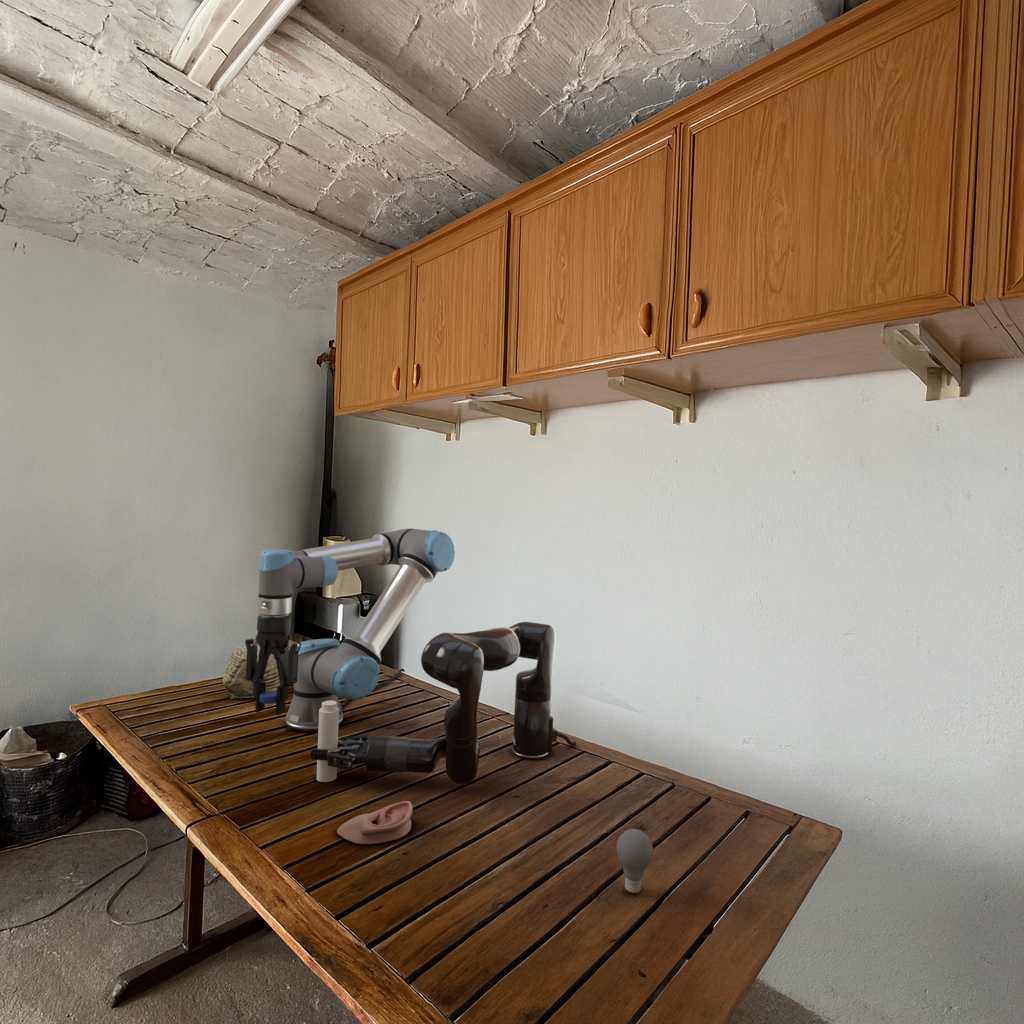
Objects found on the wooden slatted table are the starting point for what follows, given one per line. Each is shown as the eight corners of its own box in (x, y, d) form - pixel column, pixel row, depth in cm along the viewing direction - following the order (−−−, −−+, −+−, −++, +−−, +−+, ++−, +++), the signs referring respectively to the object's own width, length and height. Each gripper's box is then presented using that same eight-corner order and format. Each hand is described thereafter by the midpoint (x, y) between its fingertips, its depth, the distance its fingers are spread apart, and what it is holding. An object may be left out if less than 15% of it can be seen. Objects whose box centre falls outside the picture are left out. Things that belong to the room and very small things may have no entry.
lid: (254, 701, 150) (255, 693, 150) (271, 696, 155) (272, 689, 155) (268, 705, 148) (269, 697, 148) (285, 700, 152) (286, 693, 152)
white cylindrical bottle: (340, 776, 144) (343, 701, 144) (328, 783, 140) (331, 707, 140) (324, 772, 146) (327, 698, 145) (312, 779, 141) (315, 703, 141)
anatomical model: (329, 818, 117) (357, 790, 128) (328, 839, 117) (356, 810, 128) (397, 828, 114) (419, 799, 126) (396, 850, 114) (418, 819, 126)
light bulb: (610, 879, 108) (613, 822, 108) (644, 879, 109) (647, 822, 109) (619, 902, 102) (622, 840, 102) (655, 901, 103) (658, 840, 103)
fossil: (218, 695, 195) (220, 647, 195) (278, 685, 208) (279, 640, 207) (228, 703, 189) (230, 653, 188) (289, 692, 201) (290, 645, 201)
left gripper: (231, 614, 149) (226, 712, 149) (300, 620, 146) (295, 721, 146) (250, 609, 156) (246, 703, 157) (316, 615, 153) (312, 711, 153)
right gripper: (398, 726, 149) (326, 722, 150) (383, 750, 135) (304, 745, 135) (396, 757, 149) (325, 753, 150) (382, 784, 135) (302, 780, 136)
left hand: (270, 711), depth 151 cm, fingers closed on lid, 5 cm apart
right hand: (315, 749), depth 143 cm, fingers closed on white cylindrical bottle, 4 cm apart
